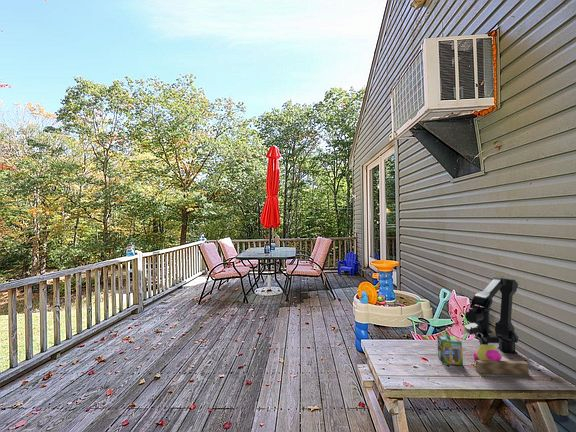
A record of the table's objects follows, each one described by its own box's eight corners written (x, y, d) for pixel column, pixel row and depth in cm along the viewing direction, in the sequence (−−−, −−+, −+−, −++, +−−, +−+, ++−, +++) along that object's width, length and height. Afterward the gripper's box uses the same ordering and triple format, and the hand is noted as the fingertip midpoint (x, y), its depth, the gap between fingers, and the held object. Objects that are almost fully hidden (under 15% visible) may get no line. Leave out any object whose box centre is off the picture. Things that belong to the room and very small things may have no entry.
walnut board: (524, 372, 136) (524, 361, 136) (528, 374, 133) (528, 363, 133) (475, 370, 137) (475, 359, 138) (479, 373, 135) (478, 362, 135)
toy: (491, 358, 152) (480, 339, 155) (514, 363, 135) (500, 341, 138) (475, 366, 151) (463, 346, 155) (495, 372, 134) (482, 349, 138)
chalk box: (463, 365, 142) (462, 335, 143) (443, 364, 144) (442, 334, 145) (456, 357, 151) (455, 329, 152) (437, 356, 153) (436, 327, 154)
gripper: (457, 313, 160) (458, 341, 160) (476, 325, 142) (477, 357, 142) (478, 313, 159) (479, 341, 159) (500, 326, 141) (501, 358, 141)
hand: (483, 349), depth 150 cm, fingers closed, pressing on toy
